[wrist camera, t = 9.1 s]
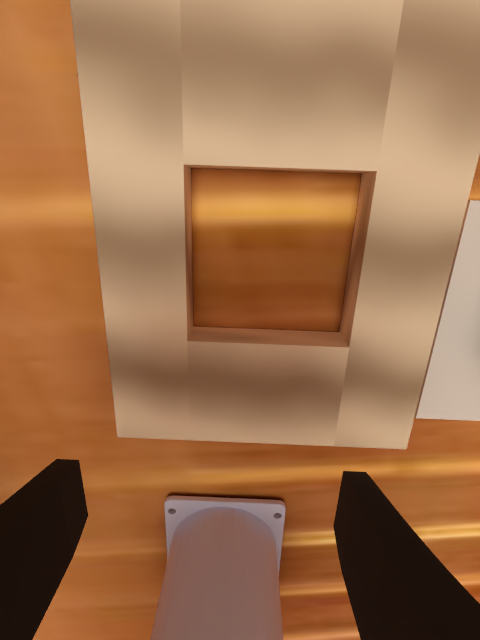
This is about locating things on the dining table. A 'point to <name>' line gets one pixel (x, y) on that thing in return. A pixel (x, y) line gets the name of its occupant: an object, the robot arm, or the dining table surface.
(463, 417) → the felt pad
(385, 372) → the pocket board
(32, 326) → the dining table surface
